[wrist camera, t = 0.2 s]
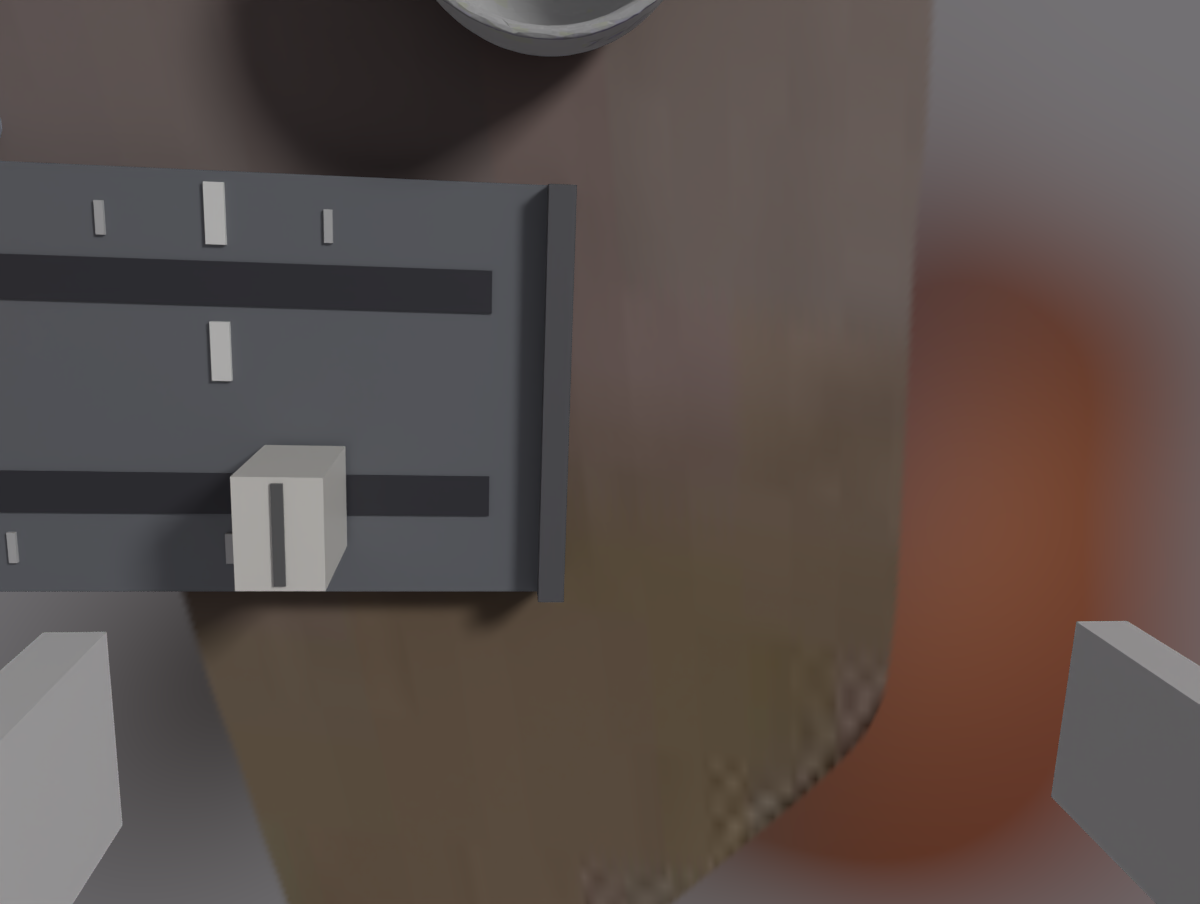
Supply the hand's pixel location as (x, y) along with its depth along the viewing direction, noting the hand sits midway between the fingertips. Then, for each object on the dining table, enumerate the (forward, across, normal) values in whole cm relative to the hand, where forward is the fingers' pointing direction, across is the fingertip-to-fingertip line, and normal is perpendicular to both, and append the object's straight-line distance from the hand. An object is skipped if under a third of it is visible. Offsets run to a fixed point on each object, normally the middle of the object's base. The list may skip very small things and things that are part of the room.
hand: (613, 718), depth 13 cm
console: (+28, -15, 0) cm, 31 cm away
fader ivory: (+25, -9, -4) cm, 27 cm away
